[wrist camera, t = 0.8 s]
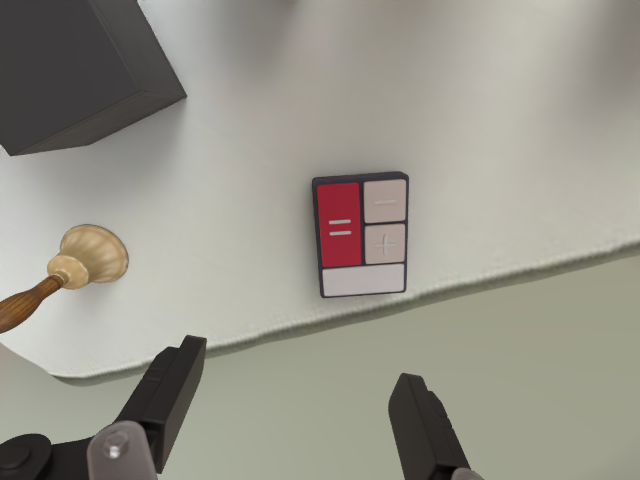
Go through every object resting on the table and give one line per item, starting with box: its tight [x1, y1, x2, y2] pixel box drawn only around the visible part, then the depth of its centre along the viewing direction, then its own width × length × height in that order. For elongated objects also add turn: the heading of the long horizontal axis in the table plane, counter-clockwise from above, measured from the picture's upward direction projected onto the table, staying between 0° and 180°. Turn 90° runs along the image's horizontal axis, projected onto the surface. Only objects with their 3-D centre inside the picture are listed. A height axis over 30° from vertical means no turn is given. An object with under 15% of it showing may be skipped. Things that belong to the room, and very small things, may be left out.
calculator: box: [312, 172, 409, 298], centre depth 39 cm, size 11×4×15 cm
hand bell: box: [0, 225, 128, 334], centre depth 34 cm, size 8×8×16 cm
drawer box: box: [0, 0, 187, 156], centre depth 28 cm, size 14×13×10 cm
